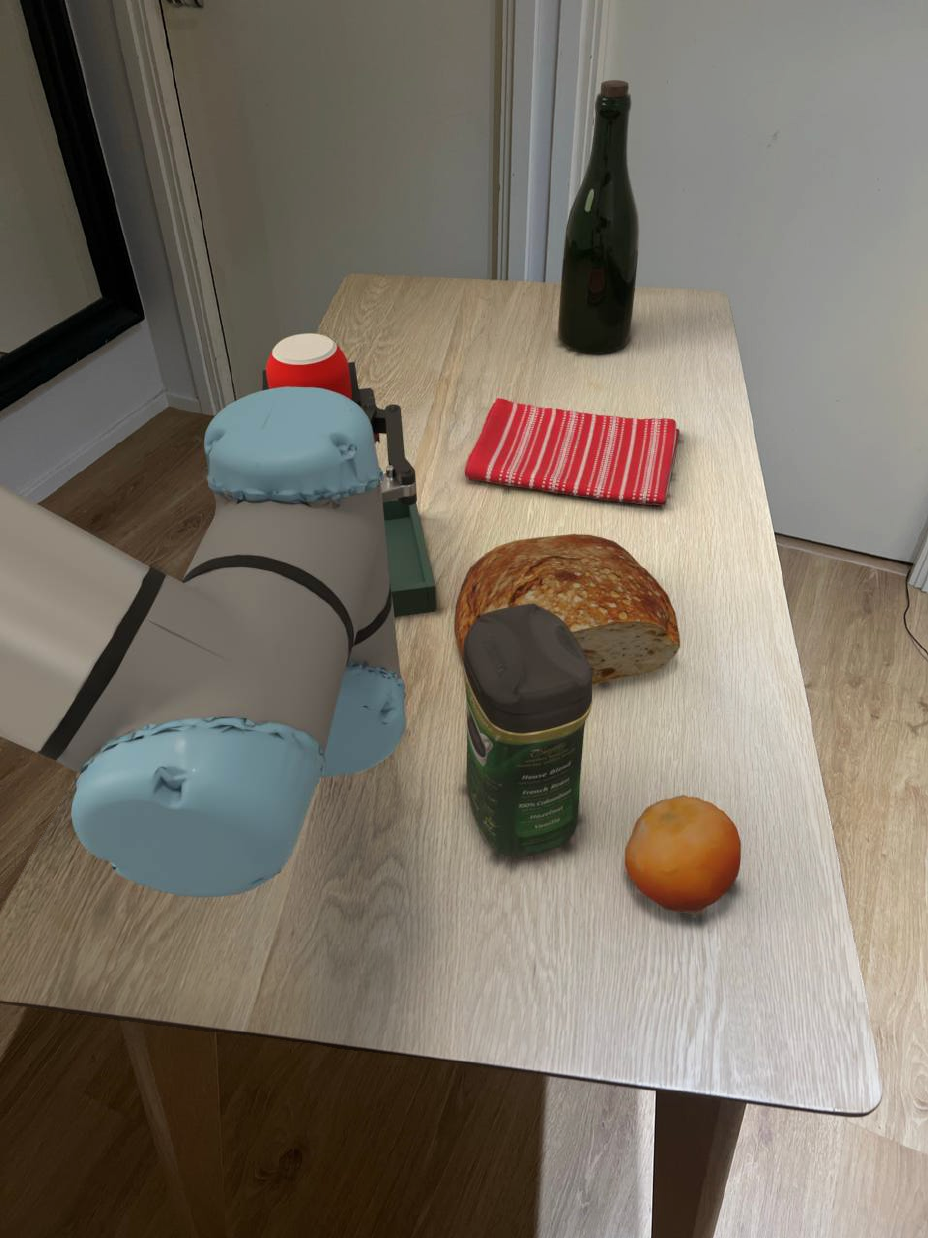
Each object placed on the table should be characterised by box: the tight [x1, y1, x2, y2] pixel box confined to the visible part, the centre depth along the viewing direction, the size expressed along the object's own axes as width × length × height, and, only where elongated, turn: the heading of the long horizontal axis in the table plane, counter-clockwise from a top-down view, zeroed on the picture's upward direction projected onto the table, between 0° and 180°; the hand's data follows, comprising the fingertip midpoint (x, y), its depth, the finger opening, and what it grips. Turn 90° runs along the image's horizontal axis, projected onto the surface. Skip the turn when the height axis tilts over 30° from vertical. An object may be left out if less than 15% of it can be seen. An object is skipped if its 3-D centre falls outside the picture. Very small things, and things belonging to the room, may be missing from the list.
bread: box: [453, 533, 681, 685], centre depth 82 cm, size 20×18×10 cm
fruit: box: [624, 794, 742, 919], centre depth 64 cm, size 8×8×8 cm
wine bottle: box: [557, 79, 640, 354], centre depth 119 cm, size 10×10×33 cm
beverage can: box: [265, 332, 352, 400], centre depth 69 cm, size 6×6×12 cm
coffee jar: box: [462, 603, 593, 859], centre depth 64 cm, size 10×8×19 cm
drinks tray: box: [383, 499, 437, 617], centre depth 91 cm, size 18×16×3 cm
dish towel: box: [464, 397, 680, 506], centre depth 106 cm, size 17×24×3 cm
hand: (311, 381), depth 73 cm, fingers closed on beverage can, 6 cm apart
